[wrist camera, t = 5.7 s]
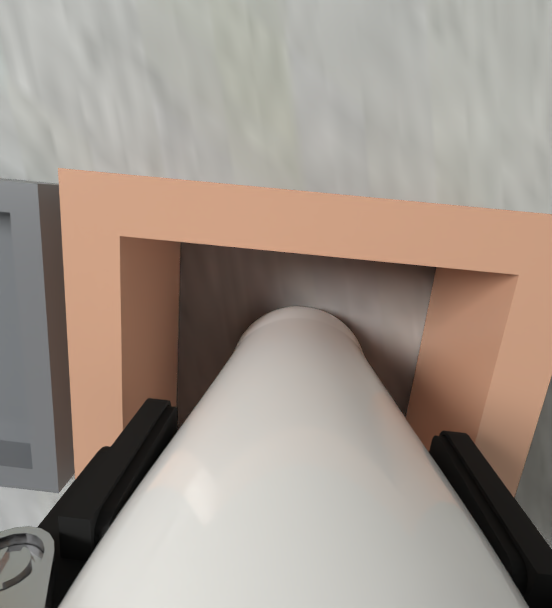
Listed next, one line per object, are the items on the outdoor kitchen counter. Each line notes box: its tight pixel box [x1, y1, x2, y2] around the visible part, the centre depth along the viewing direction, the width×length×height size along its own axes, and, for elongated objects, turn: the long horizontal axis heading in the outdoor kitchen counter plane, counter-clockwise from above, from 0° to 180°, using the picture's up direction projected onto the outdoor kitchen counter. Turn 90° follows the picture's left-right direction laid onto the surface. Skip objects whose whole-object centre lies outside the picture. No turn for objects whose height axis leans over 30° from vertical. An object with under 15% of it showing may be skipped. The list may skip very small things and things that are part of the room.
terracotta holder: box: [58, 168, 552, 498], centre depth 14 cm, size 13×13×6 cm
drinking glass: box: [58, 306, 529, 608], centre depth 9 cm, size 7×7×15 cm
